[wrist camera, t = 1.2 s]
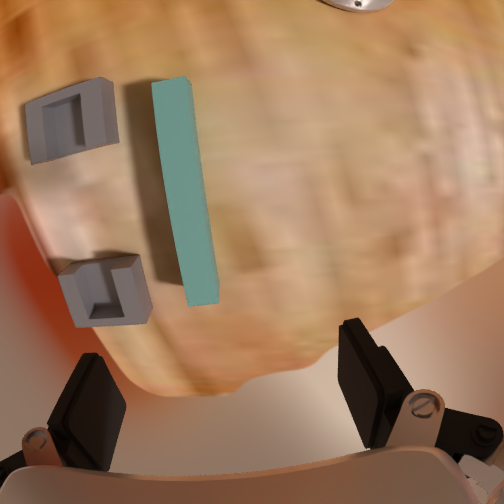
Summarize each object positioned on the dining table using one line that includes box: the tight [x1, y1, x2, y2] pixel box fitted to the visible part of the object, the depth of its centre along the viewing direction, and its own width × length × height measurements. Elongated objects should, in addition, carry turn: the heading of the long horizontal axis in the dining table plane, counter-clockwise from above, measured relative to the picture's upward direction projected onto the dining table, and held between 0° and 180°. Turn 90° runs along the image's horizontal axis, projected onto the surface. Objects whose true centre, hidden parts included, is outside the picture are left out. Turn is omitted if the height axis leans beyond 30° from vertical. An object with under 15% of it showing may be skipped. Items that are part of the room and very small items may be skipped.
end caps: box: [25, 77, 153, 328], centre depth 28 cm, size 25×9×4 cm, turn 6°
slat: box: [151, 76, 220, 307], centre depth 28 cm, size 21×3×4 cm, turn 6°
